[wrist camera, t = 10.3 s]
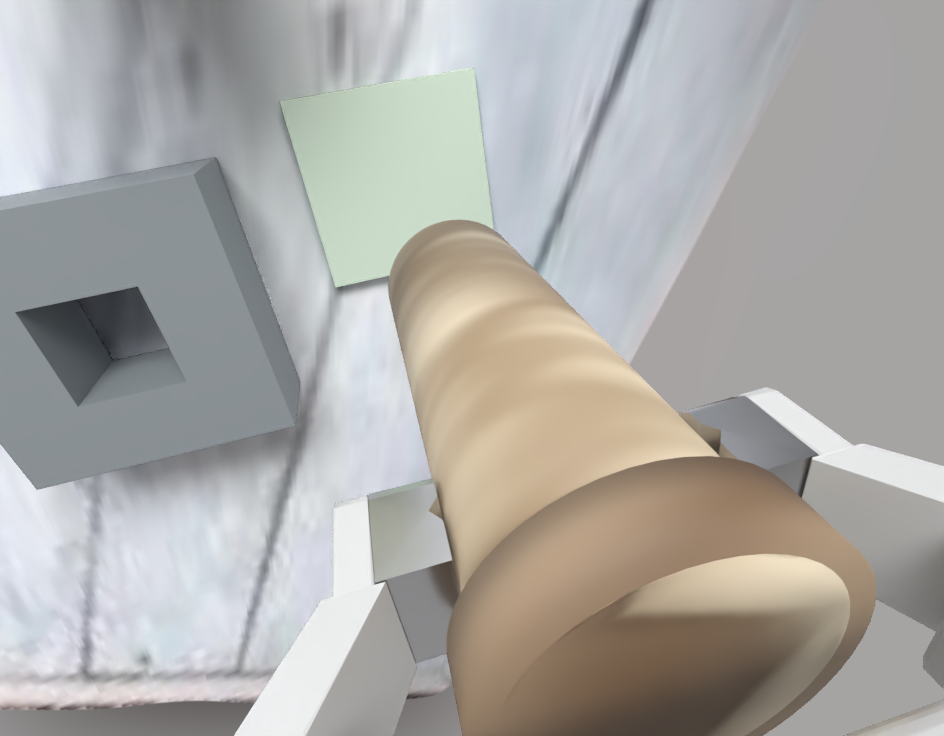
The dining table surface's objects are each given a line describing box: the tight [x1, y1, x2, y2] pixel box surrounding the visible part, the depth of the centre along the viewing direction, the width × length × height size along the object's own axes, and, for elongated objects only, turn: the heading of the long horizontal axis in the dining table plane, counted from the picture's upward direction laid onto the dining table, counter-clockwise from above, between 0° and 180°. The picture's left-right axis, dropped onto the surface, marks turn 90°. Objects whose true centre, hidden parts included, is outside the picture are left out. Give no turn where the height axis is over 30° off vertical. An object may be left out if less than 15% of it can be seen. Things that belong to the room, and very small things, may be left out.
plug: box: [388, 220, 877, 736], centre depth 11 cm, size 5×5×12 cm
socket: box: [0, 158, 300, 490], centre depth 28 cm, size 14×14×5 cm
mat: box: [280, 68, 494, 287], centre depth 29 cm, size 10×10×1 cm
